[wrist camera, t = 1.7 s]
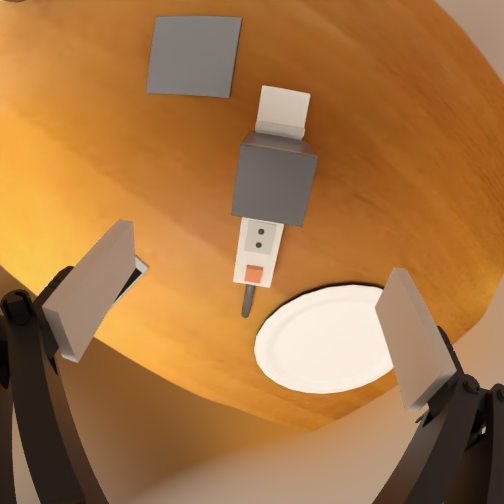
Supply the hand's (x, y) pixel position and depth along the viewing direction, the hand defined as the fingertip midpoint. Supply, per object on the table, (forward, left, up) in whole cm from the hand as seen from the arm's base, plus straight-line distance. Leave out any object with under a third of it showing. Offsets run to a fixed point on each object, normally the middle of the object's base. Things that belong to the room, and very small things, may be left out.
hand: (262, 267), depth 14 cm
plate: (+30, +17, -23) cm, 42 cm away
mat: (-11, -11, -23) cm, 28 cm away
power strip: (+8, 0, -23) cm, 24 cm away
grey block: (0, 0, -19) cm, 19 cm away
